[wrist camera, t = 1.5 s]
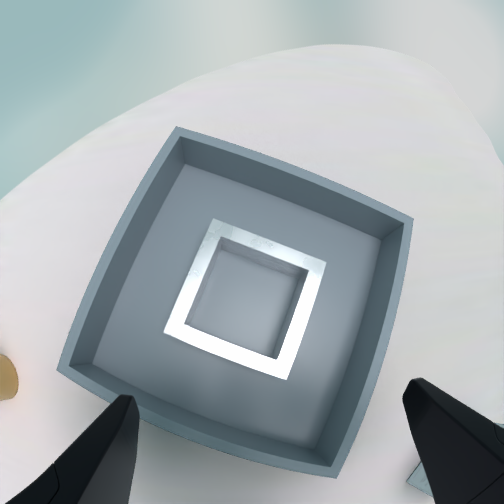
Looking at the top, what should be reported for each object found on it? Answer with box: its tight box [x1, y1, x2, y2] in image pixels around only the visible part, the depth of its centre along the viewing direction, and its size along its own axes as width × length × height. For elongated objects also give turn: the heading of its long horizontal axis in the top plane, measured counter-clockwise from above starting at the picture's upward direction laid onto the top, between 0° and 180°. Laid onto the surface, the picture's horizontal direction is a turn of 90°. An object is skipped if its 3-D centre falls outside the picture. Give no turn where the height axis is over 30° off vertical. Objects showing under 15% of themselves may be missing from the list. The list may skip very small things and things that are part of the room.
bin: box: [57, 126, 414, 479], centre depth 21 cm, size 20×20×5 cm
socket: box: [164, 218, 326, 379], centre depth 21 cm, size 8×8×3 cm
